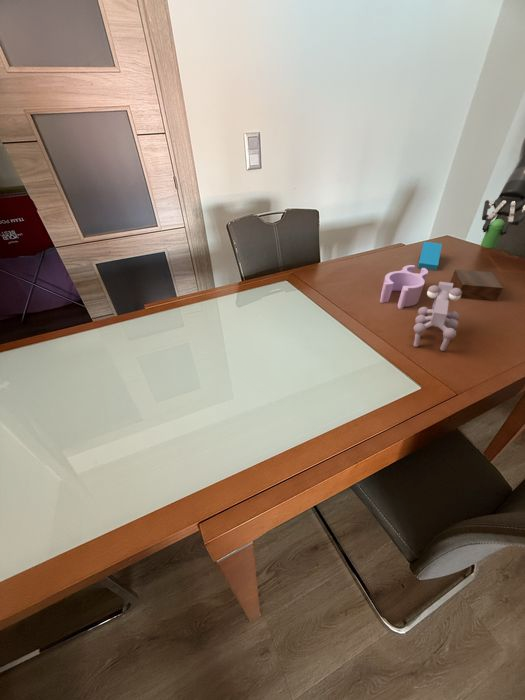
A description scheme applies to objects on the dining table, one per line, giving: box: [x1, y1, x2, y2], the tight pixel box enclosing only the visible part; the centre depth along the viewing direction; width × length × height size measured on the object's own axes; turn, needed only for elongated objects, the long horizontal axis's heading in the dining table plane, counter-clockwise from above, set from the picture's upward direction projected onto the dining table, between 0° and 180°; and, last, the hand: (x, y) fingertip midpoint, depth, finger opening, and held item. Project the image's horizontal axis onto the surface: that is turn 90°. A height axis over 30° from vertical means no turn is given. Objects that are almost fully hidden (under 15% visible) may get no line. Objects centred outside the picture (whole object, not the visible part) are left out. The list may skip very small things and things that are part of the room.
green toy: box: [480, 218, 506, 249], centre depth 104 cm, size 5×5×9 cm
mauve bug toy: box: [413, 281, 462, 352], centre depth 86 cm, size 20×11×14 cm, turn 152°
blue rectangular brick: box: [417, 241, 443, 271], centre depth 128 cm, size 7×7×18 cm
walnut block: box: [449, 269, 504, 302], centre depth 107 cm, size 12×12×5 cm
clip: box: [379, 264, 429, 310], centre depth 106 cm, size 20×12×7 cm, turn 137°
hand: (493, 232), depth 102 cm, fingers closed on green toy, 4 cm apart
